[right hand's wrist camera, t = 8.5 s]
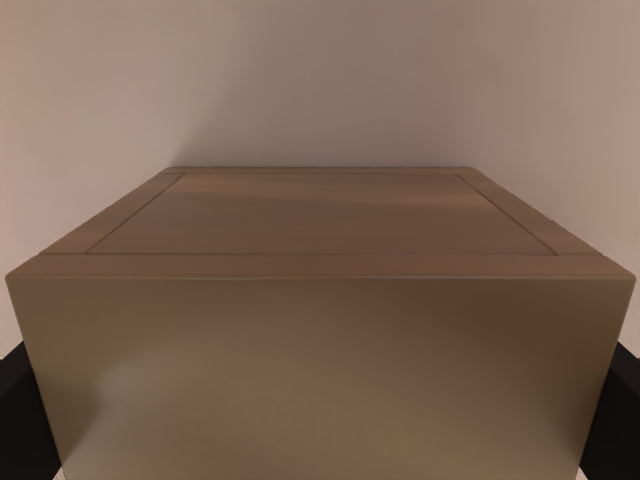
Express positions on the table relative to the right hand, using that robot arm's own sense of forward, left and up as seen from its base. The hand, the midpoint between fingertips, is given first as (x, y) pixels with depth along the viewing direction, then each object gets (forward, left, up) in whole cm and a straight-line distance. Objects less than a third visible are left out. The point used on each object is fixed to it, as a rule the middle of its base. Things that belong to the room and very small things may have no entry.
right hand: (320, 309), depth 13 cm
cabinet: (+4, +3, -5) cm, 7 cm away
